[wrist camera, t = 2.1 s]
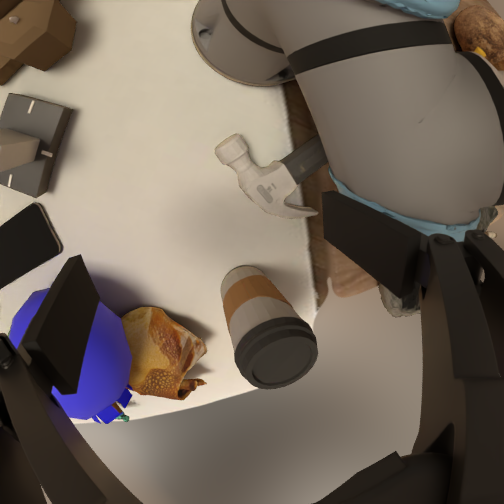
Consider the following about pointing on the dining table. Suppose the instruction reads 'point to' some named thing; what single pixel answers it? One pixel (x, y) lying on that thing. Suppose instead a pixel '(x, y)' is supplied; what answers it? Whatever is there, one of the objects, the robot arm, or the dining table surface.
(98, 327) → the bomb
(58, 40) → the candle
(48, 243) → the smartphone
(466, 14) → the brown root vegetable
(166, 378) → the seashell
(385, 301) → the stone
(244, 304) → the coffee cup
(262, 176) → the hammer
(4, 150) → the timer knob
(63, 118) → the panel
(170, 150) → the dining table surface
